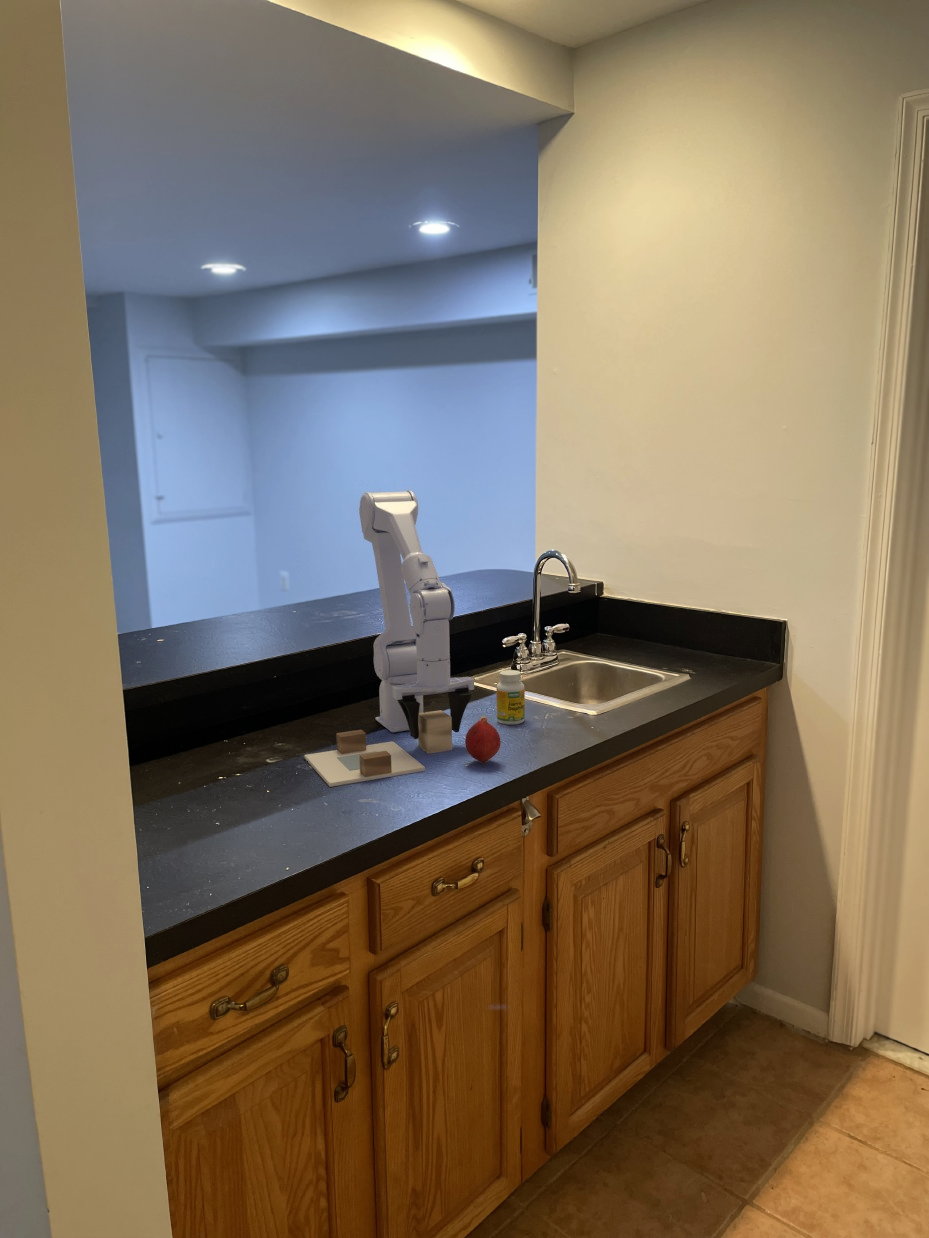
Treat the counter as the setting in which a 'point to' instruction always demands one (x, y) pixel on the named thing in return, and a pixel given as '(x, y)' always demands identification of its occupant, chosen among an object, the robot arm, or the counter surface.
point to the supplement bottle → (510, 698)
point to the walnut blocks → (368, 762)
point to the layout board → (347, 765)
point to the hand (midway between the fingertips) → (435, 733)
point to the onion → (482, 741)
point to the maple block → (435, 731)
